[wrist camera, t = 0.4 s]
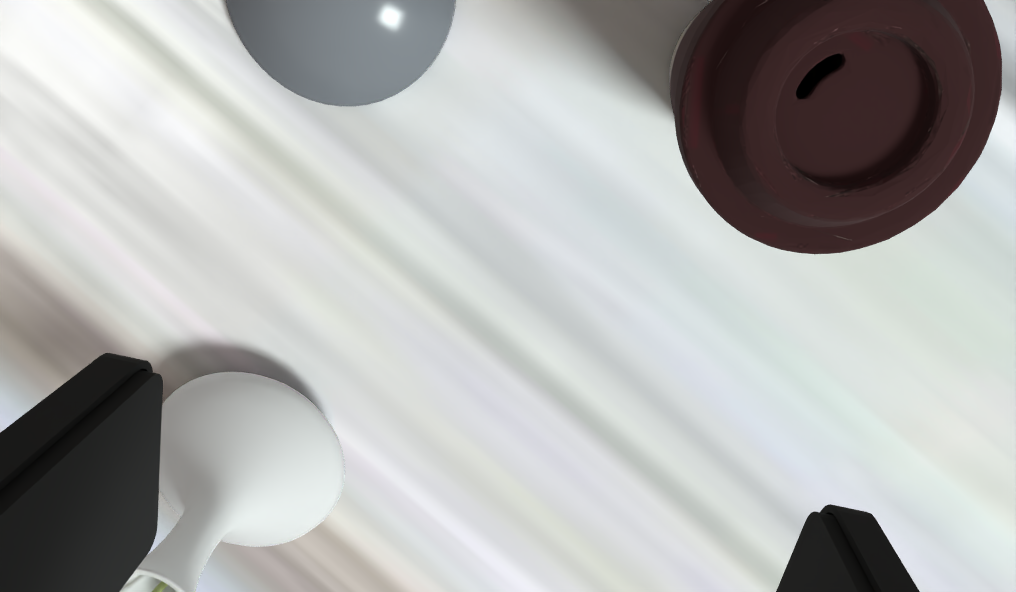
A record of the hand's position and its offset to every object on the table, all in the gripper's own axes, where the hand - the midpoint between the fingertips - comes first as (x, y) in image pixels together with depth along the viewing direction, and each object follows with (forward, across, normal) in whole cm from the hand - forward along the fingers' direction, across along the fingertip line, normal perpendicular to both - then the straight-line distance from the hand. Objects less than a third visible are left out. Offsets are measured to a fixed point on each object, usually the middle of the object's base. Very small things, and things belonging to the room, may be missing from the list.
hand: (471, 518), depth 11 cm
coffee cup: (+30, -9, -6) cm, 32 cm away
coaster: (+30, +11, -6) cm, 32 cm away
